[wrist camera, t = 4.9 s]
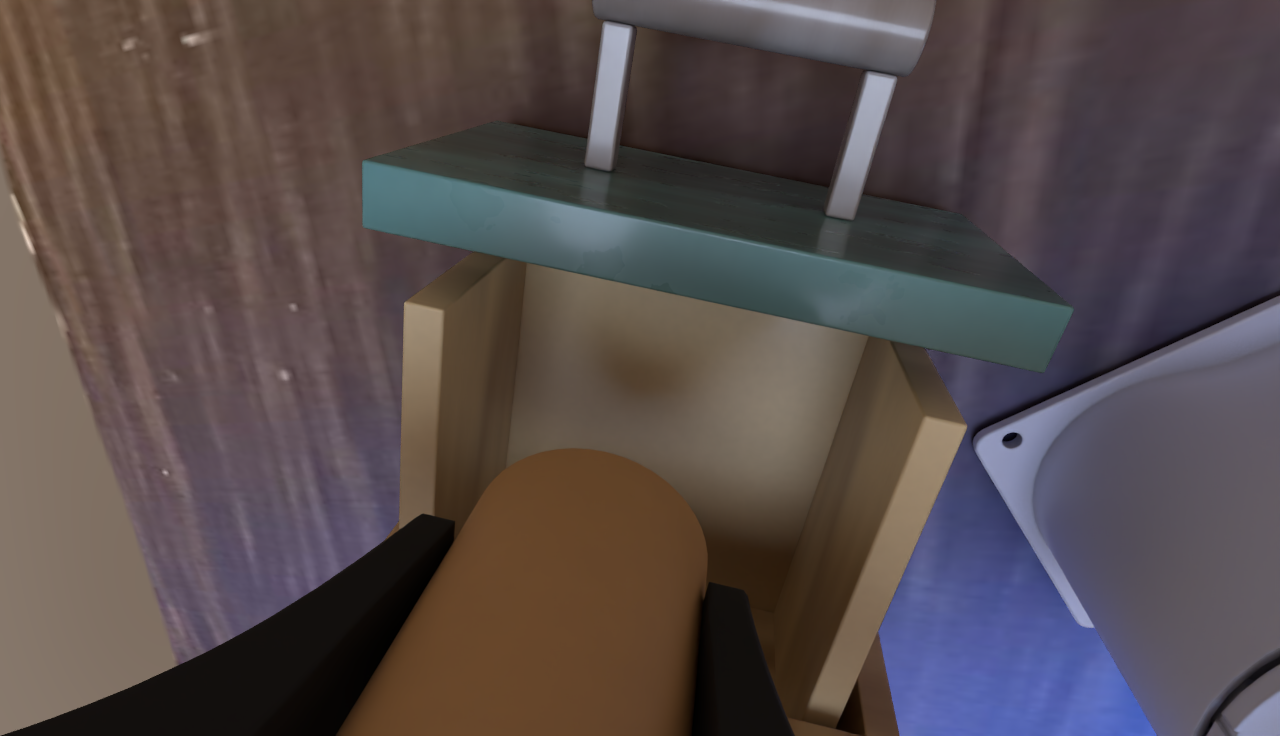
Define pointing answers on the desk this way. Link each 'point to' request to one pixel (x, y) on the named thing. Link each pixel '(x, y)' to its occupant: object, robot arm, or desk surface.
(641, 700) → the paper roll
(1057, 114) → the desk surface
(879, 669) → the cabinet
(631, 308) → the drawer
